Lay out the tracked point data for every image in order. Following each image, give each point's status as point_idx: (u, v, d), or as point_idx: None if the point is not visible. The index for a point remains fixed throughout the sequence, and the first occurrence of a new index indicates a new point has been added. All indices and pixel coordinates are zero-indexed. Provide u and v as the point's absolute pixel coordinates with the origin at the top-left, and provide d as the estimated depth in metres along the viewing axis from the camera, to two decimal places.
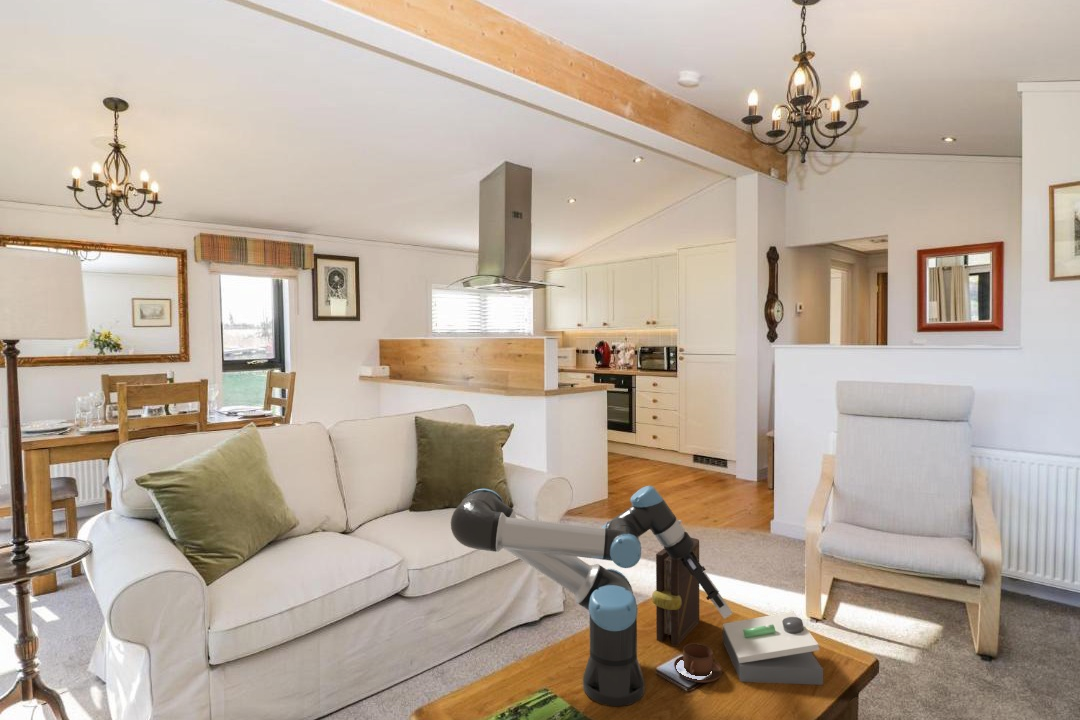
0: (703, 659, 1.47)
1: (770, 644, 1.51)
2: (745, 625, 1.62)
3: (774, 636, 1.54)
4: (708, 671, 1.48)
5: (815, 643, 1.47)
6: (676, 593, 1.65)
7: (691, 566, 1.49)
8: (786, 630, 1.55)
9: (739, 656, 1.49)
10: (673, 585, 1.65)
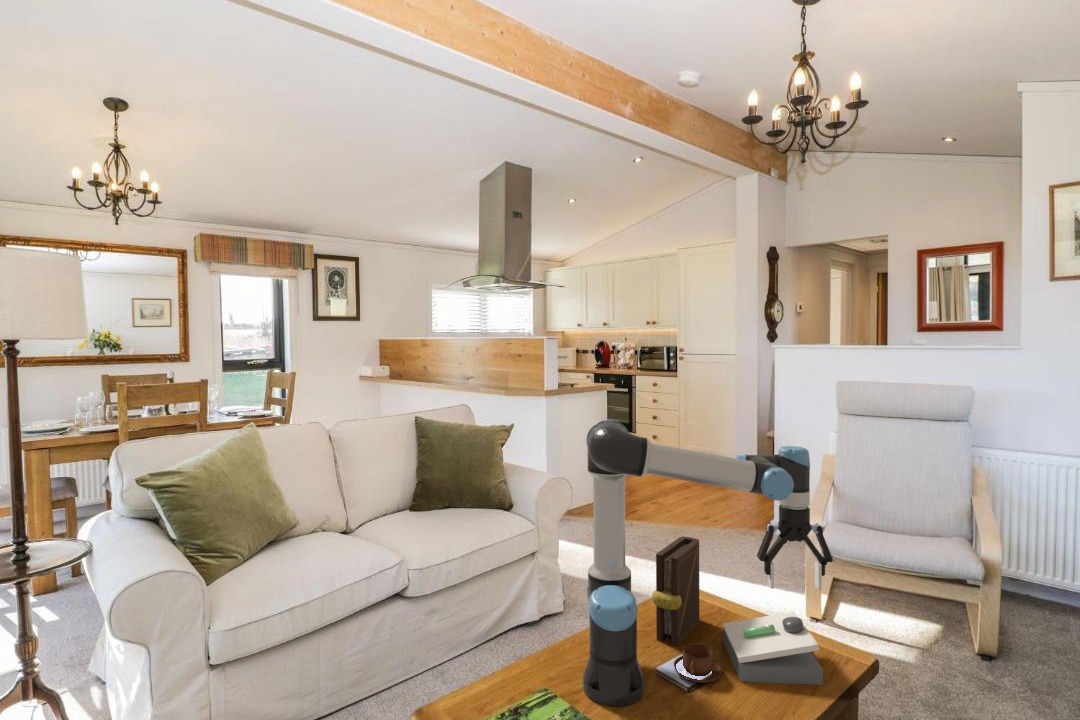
0: (703, 659, 1.48)
1: (770, 644, 1.51)
2: (745, 625, 1.62)
3: (774, 636, 1.54)
4: (708, 671, 1.48)
5: (815, 643, 1.47)
6: (676, 593, 1.65)
7: None
8: (786, 630, 1.55)
9: (739, 656, 1.49)
10: (673, 585, 1.65)
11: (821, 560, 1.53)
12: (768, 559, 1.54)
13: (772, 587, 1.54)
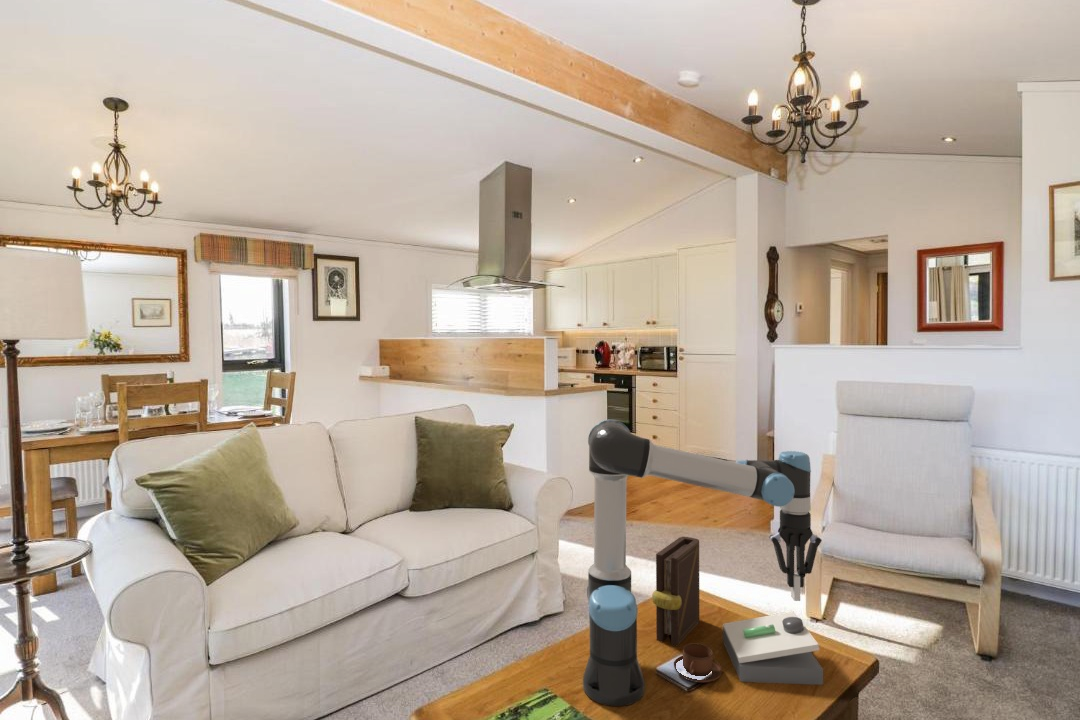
0: (703, 659, 1.48)
1: (770, 644, 1.51)
2: (745, 625, 1.62)
3: (774, 636, 1.54)
4: (708, 671, 1.48)
5: (815, 643, 1.47)
6: (676, 593, 1.65)
7: None
8: (786, 630, 1.55)
9: (739, 656, 1.49)
10: (673, 585, 1.65)
11: (801, 571, 1.54)
12: (790, 572, 1.54)
13: (795, 599, 1.54)
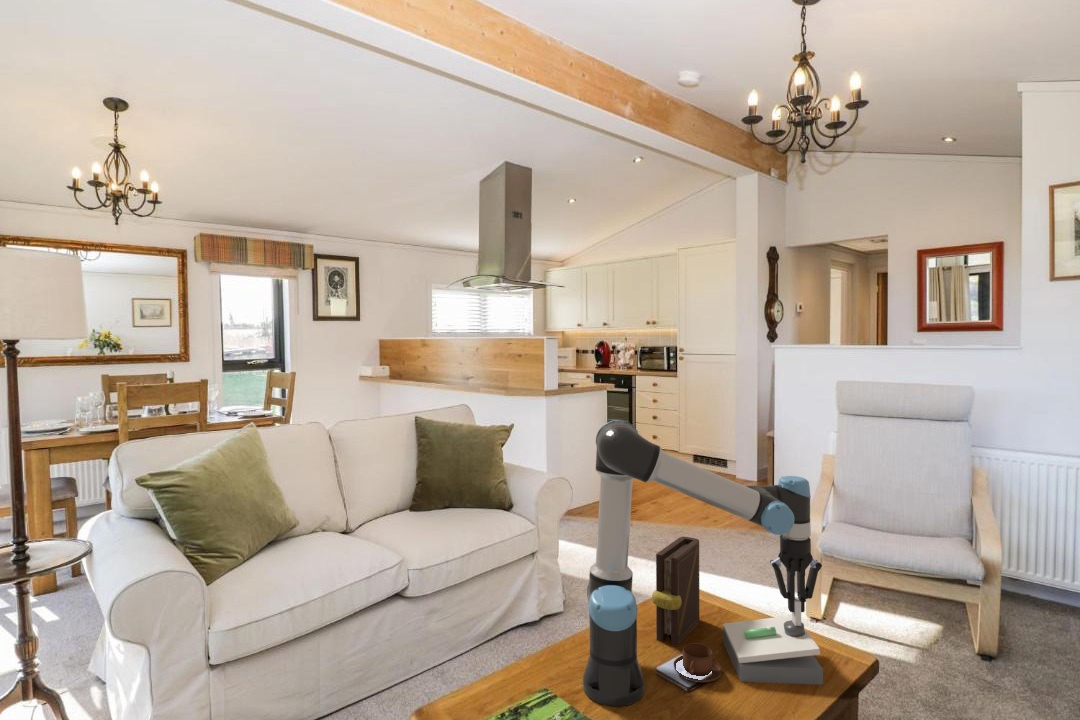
0: (703, 659, 1.48)
1: (771, 646, 1.51)
2: (745, 626, 1.62)
3: (775, 639, 1.54)
4: (708, 671, 1.48)
5: (816, 647, 1.47)
6: (676, 593, 1.65)
7: None
8: (787, 633, 1.55)
9: (739, 656, 1.49)
10: (673, 585, 1.65)
11: (802, 596, 1.54)
12: (791, 597, 1.54)
13: (796, 624, 1.54)
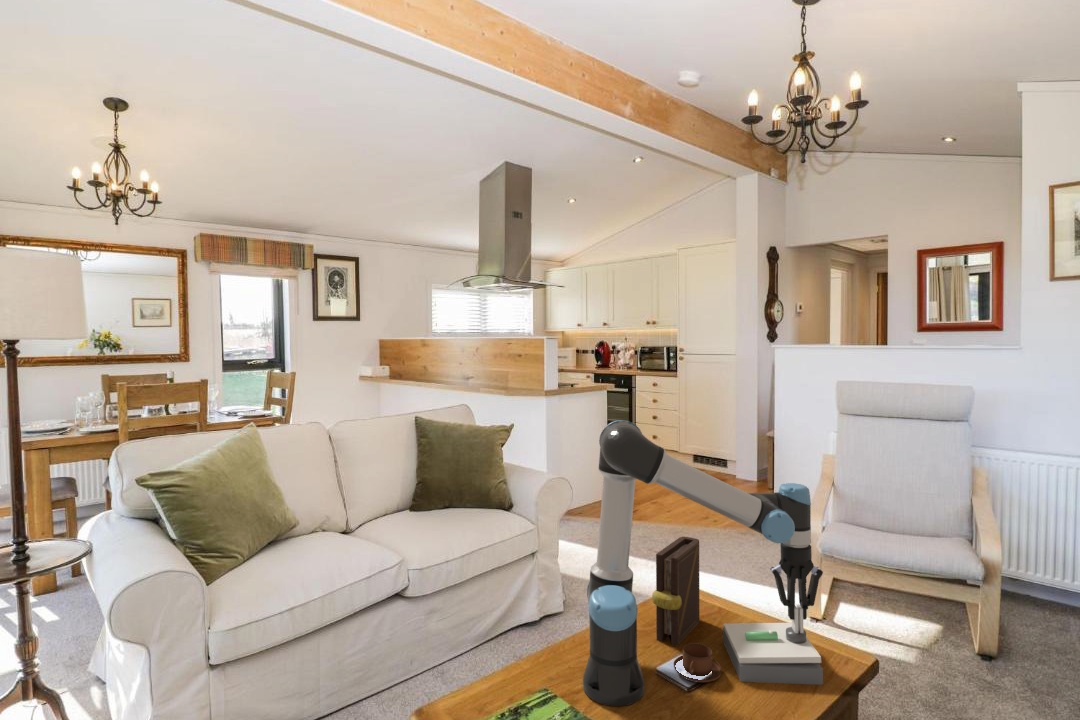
0: (702, 659, 1.48)
1: (772, 650, 1.51)
2: (746, 628, 1.62)
3: (776, 643, 1.54)
4: (708, 671, 1.48)
5: (818, 655, 1.47)
6: (676, 593, 1.65)
7: None
8: (789, 639, 1.55)
9: (740, 656, 1.49)
10: (673, 585, 1.65)
11: (804, 603, 1.54)
12: (791, 604, 1.54)
13: (796, 632, 1.54)
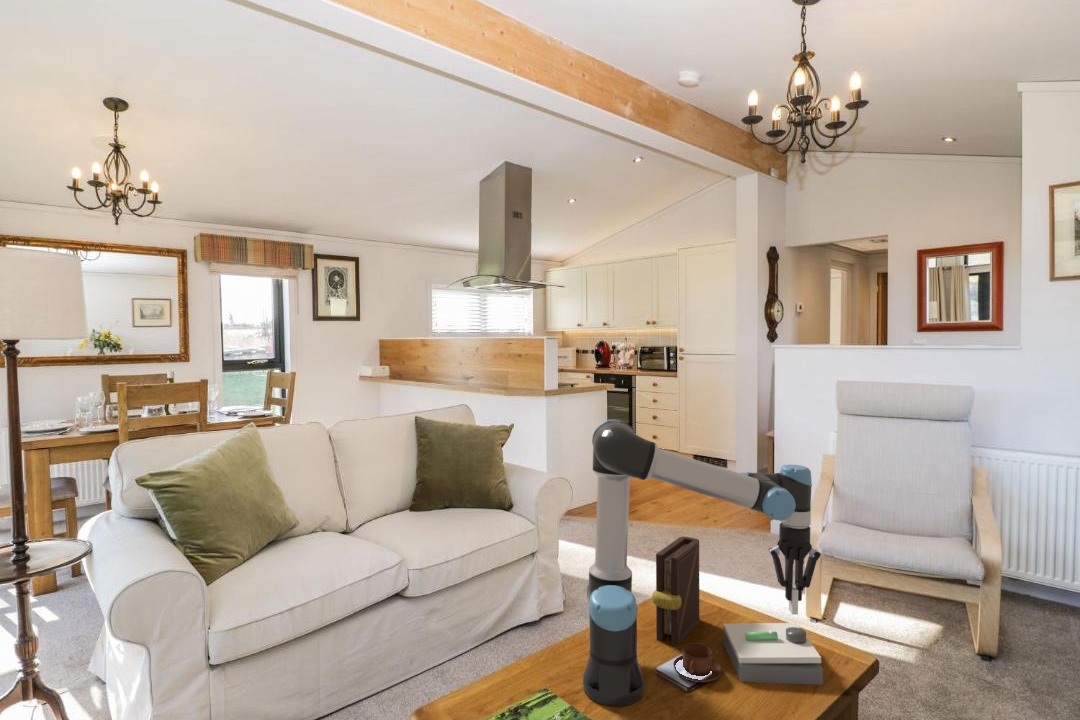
0: (702, 659, 1.48)
1: (772, 650, 1.51)
2: (746, 628, 1.62)
3: (776, 643, 1.54)
4: (707, 671, 1.48)
5: (818, 656, 1.47)
6: (676, 593, 1.65)
7: None
8: (789, 639, 1.55)
9: (740, 656, 1.49)
10: (673, 585, 1.65)
11: (799, 584, 1.54)
12: (788, 585, 1.54)
13: (793, 613, 1.54)
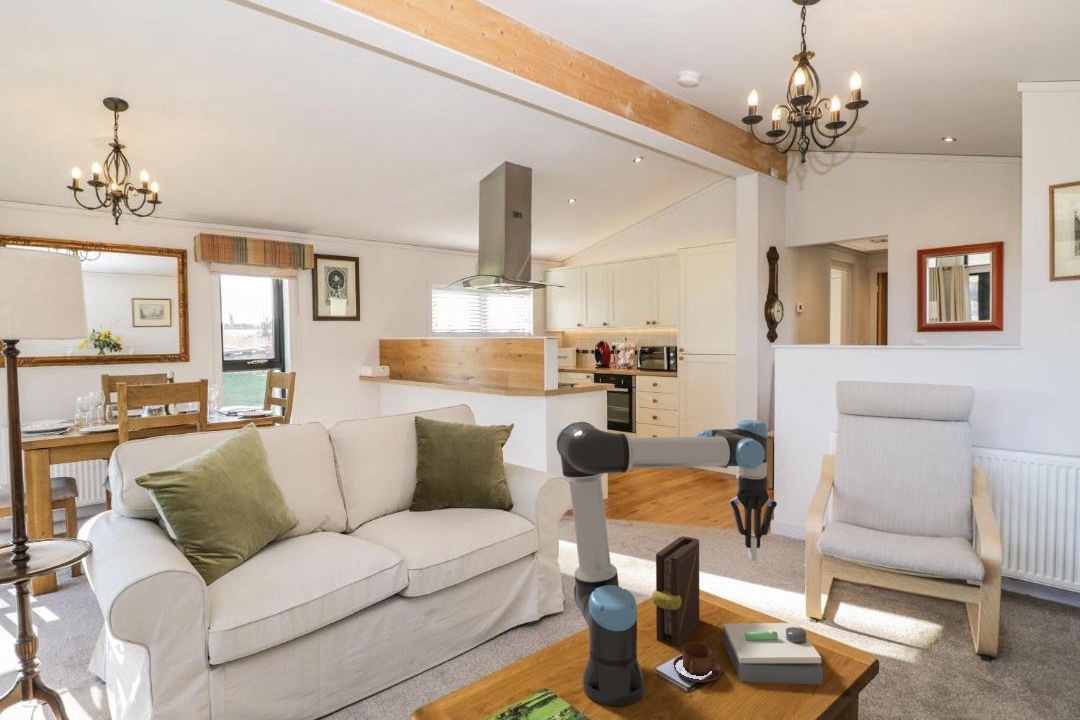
0: (702, 659, 1.48)
1: (772, 650, 1.51)
2: (746, 628, 1.62)
3: (776, 643, 1.54)
4: (707, 671, 1.48)
5: (818, 656, 1.47)
6: (676, 593, 1.65)
7: None
8: (789, 639, 1.55)
9: (740, 656, 1.49)
10: (673, 585, 1.65)
11: (758, 532, 1.63)
12: (747, 533, 1.64)
13: (752, 559, 1.63)
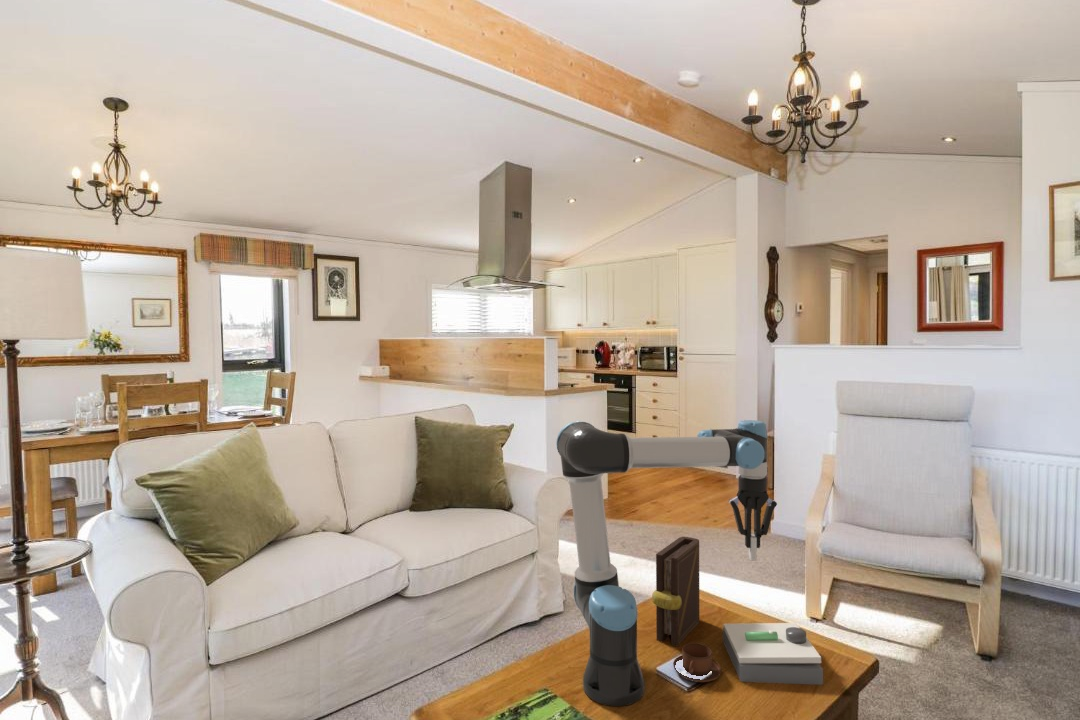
0: (702, 659, 1.48)
1: (772, 650, 1.51)
2: (746, 628, 1.62)
3: (776, 643, 1.54)
4: (707, 671, 1.48)
5: (818, 656, 1.47)
6: (676, 593, 1.65)
7: None
8: (789, 639, 1.55)
9: (740, 656, 1.49)
10: (673, 585, 1.65)
11: (757, 532, 1.63)
12: (747, 533, 1.64)
13: (752, 559, 1.64)
